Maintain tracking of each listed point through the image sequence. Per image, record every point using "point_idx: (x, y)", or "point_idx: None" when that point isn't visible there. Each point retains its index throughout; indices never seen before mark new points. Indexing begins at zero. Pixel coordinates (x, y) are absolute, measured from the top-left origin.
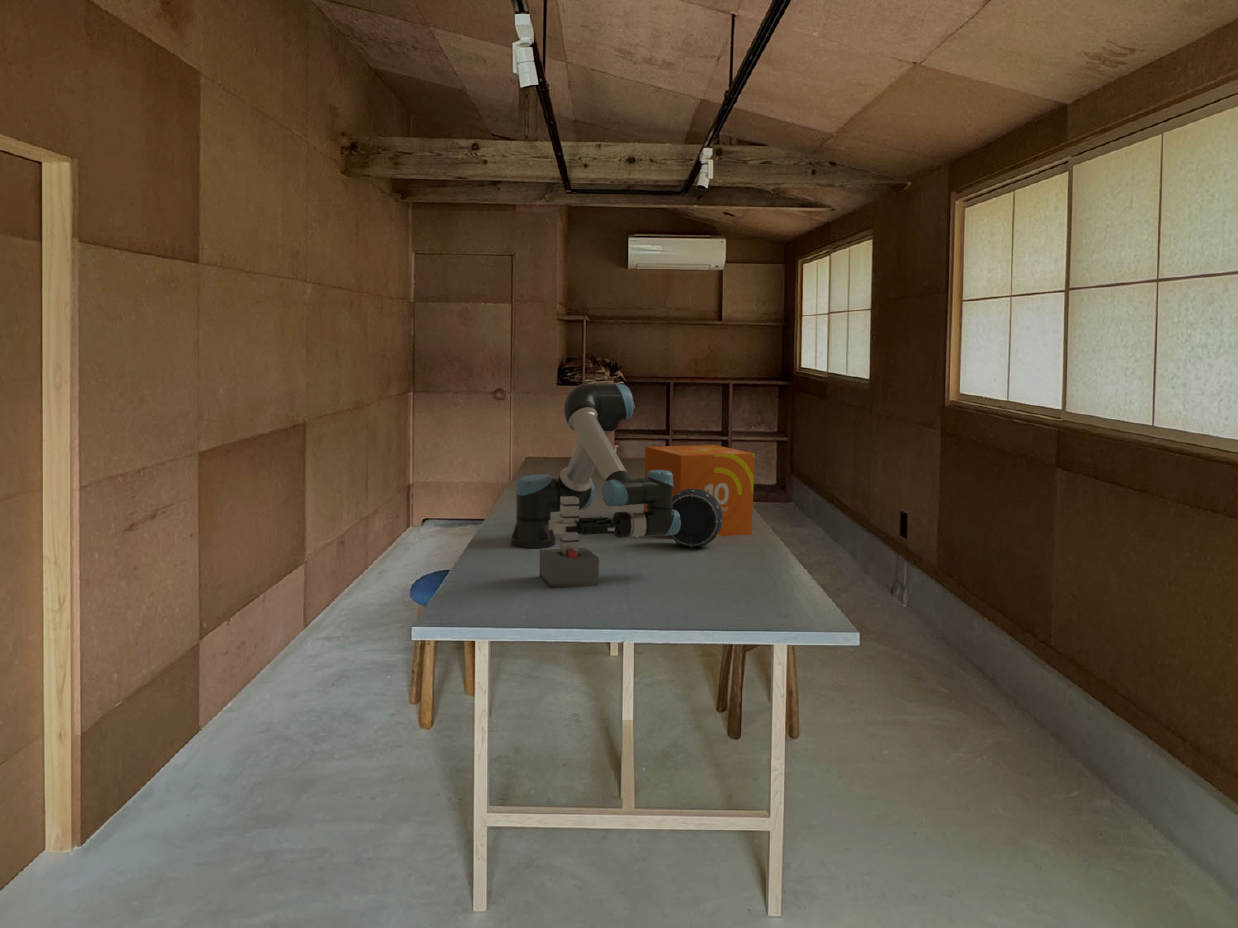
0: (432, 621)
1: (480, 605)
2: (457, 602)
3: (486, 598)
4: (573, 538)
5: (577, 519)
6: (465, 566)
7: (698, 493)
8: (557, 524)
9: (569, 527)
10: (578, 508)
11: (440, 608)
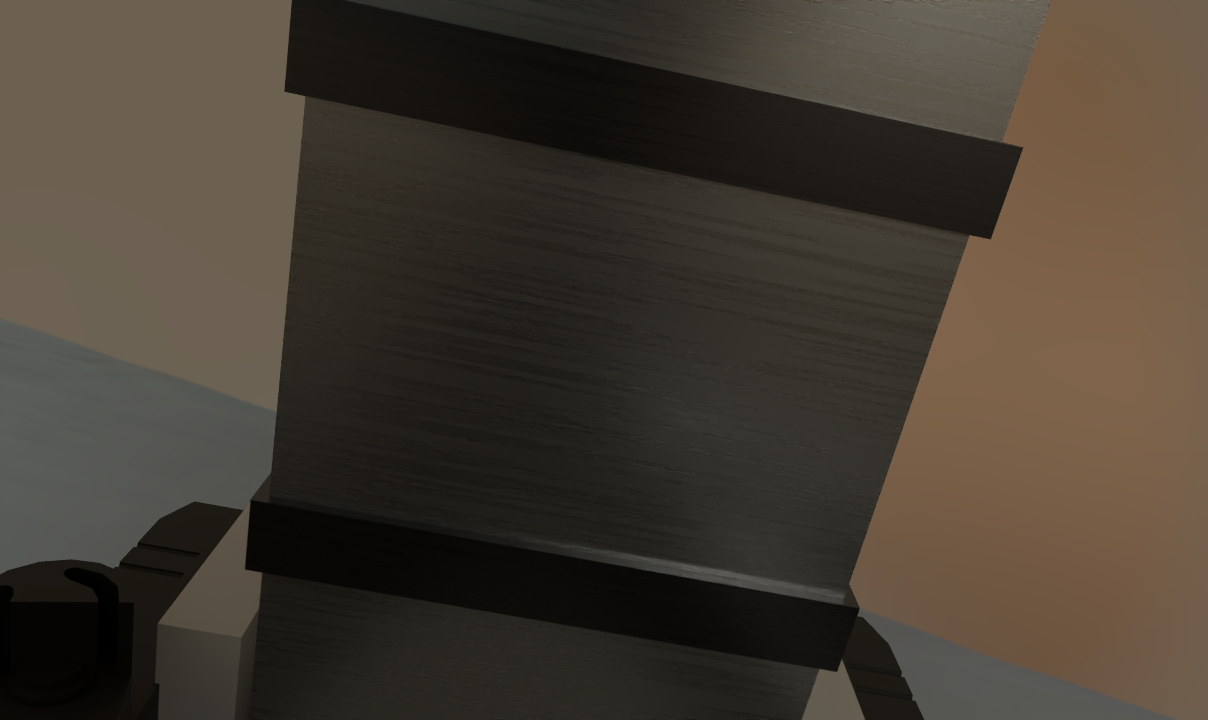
0: (2, 327)
1: (75, 468)
2: (216, 437)
3: None
4: None
5: (275, 584)
6: (1030, 674)
7: None
8: None
9: (147, 532)
10: (304, 207)
11: (168, 384)
